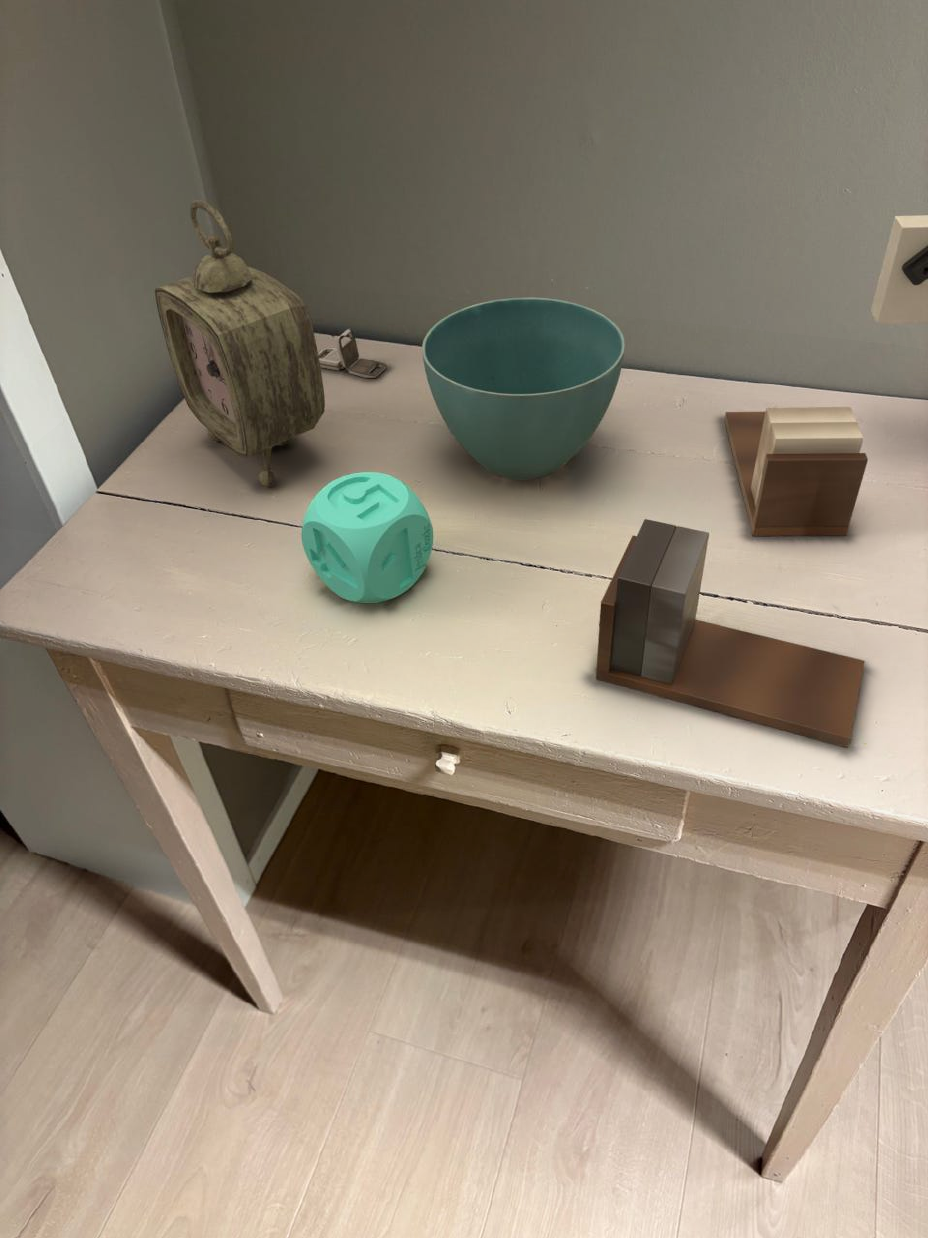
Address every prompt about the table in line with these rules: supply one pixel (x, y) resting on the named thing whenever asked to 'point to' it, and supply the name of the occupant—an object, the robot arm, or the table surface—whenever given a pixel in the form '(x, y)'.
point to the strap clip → (348, 358)
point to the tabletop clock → (241, 351)
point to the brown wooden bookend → (713, 646)
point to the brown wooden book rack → (798, 468)
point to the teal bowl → (523, 380)
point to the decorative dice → (367, 537)
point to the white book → (902, 275)
